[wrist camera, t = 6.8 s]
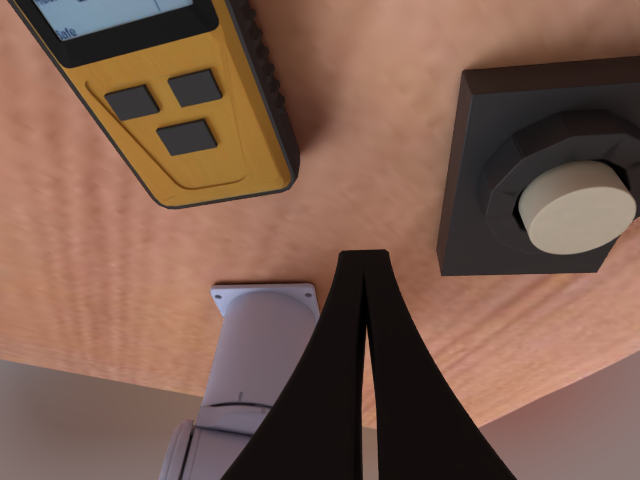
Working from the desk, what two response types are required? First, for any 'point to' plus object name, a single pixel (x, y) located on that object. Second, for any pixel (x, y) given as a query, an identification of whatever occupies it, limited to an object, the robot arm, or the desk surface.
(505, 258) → the switch box
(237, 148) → the electronic device
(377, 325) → the robot arm
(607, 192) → the power button
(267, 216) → the desk surface
